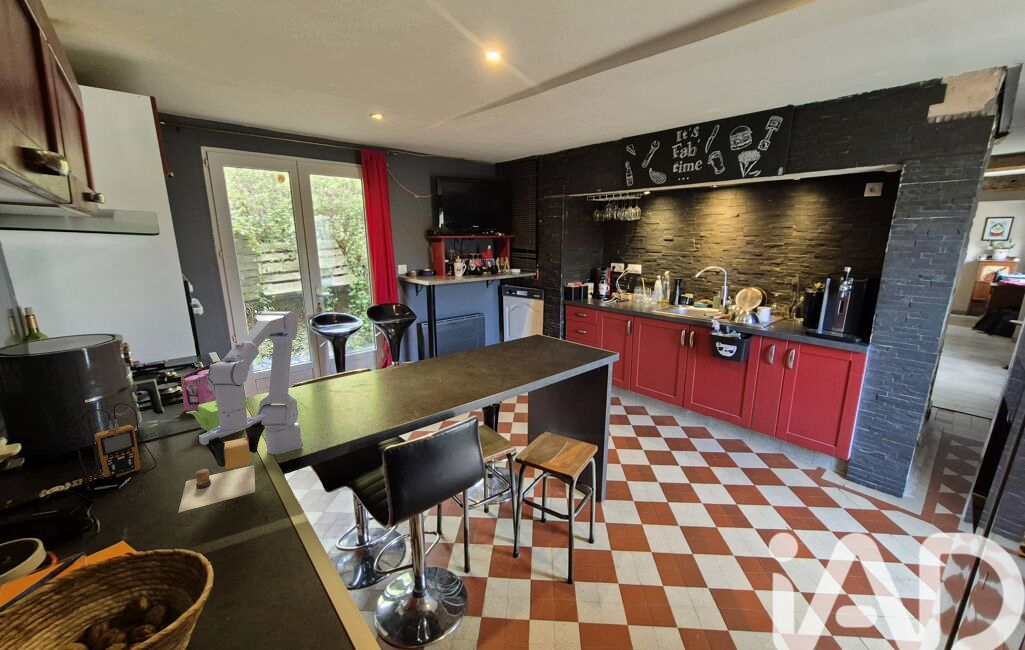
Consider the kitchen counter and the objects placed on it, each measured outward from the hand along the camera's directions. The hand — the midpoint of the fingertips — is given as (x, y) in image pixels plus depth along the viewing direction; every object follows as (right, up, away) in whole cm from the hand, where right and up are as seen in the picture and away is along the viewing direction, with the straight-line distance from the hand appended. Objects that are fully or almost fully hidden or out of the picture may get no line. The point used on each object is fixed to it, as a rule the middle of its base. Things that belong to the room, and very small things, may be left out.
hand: (237, 458), depth 100 cm
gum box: (-54, +3, +62) cm, 82 cm away
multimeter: (-35, -8, +6) cm, 36 cm away
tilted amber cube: (0, -1, 0) cm, 1 cm away
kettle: (-30, -3, +34) cm, 45 cm away
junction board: (-5, -9, +1) cm, 11 cm away
